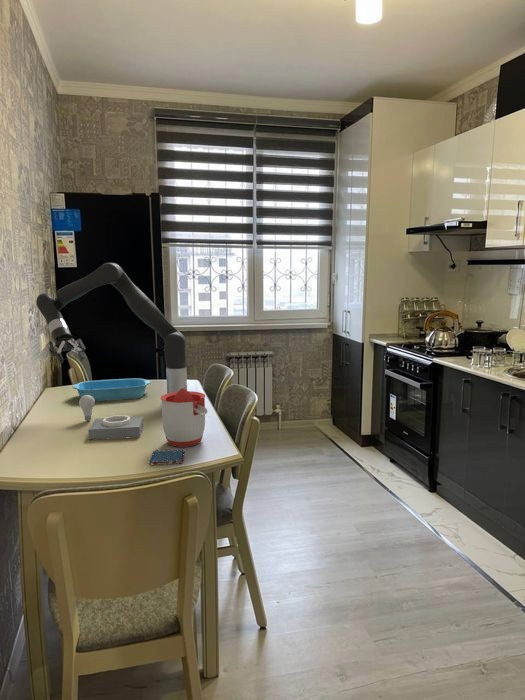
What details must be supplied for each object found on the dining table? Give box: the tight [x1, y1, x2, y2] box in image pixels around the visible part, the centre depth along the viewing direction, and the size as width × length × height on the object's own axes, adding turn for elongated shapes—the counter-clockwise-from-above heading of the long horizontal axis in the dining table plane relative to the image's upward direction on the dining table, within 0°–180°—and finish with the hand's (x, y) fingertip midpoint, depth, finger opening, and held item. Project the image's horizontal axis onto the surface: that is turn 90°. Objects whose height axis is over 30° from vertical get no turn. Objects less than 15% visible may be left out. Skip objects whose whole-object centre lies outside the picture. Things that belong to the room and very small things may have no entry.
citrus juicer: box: [160, 388, 208, 448], centre depth 174 cm, size 16×17×20 cm
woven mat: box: [149, 449, 186, 466], centre depth 160 cm, size 10×11×2 cm
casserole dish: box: [72, 378, 151, 402], centre depth 244 cm, size 37×22×7 cm, turn 109°
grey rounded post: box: [78, 395, 96, 422], centre depth 202 cm, size 6×6×11 cm
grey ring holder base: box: [88, 414, 144, 440], centre depth 187 cm, size 18×14×6 cm
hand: (72, 360), depth 207 cm, fingers open, 8 cm apart
